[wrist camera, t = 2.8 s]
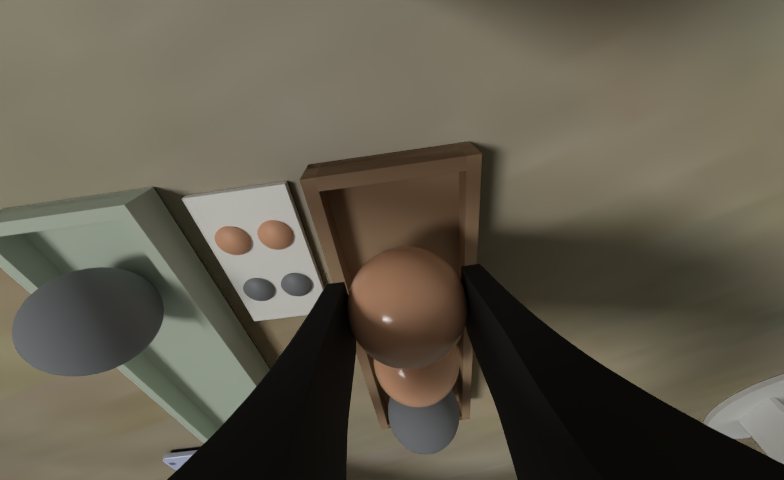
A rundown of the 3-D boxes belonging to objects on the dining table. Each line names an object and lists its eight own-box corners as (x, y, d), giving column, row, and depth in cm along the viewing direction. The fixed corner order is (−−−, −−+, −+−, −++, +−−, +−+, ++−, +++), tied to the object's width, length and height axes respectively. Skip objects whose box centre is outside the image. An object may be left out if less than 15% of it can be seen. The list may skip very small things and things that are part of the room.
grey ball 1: (200, 309, 14) (144, 391, 10) (120, 319, 14) (39, 404, 11) (150, 241, 12) (59, 318, 8) (56, 254, 12) (-71, 335, 8)
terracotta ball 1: (452, 297, 12) (481, 387, 9) (361, 309, 12) (357, 402, 9) (451, 217, 10) (488, 297, 7) (341, 232, 10) (324, 318, 7)
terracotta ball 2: (449, 343, 16) (469, 419, 13) (380, 351, 16) (380, 429, 13) (448, 292, 14) (471, 368, 11) (367, 302, 14) (365, 380, 11)
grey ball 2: (450, 390, 19) (467, 462, 16) (391, 396, 19) (394, 470, 16) (450, 353, 17) (468, 429, 13) (382, 362, 17) (384, 438, 13)
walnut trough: (463, 396, 20) (469, 419, 19) (380, 406, 21) (381, 428, 19) (469, 141, 10) (482, 153, 9) (308, 164, 11) (299, 179, 9)
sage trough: (367, 407, 21) (366, 430, 19) (219, 424, 21) (209, 448, 20) (282, 168, 11) (269, 184, 9) (3, 208, 11) (-45, 228, 10)
